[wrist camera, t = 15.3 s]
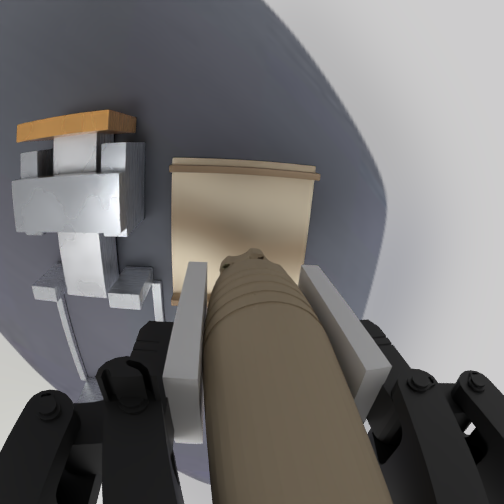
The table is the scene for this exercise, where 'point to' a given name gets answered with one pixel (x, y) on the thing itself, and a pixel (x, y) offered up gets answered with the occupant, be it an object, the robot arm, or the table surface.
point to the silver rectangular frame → (120, 296)
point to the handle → (279, 397)
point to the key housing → (82, 193)
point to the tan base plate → (238, 214)
